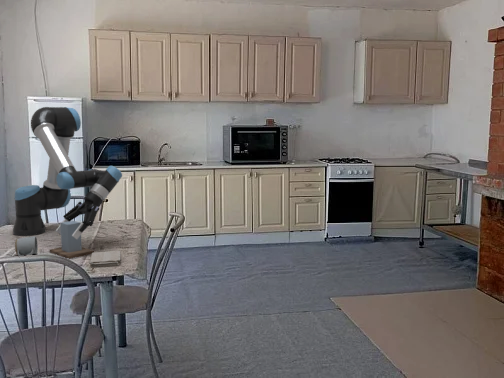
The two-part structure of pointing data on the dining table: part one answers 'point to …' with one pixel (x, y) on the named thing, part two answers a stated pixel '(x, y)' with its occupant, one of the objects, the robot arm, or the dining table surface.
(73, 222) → the slate block
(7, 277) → the dining table surface
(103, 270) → the dining table surface
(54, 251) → the walnut board
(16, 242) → the ceramic mug
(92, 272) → the dining table surface
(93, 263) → the washcloth
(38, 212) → the robot arm
